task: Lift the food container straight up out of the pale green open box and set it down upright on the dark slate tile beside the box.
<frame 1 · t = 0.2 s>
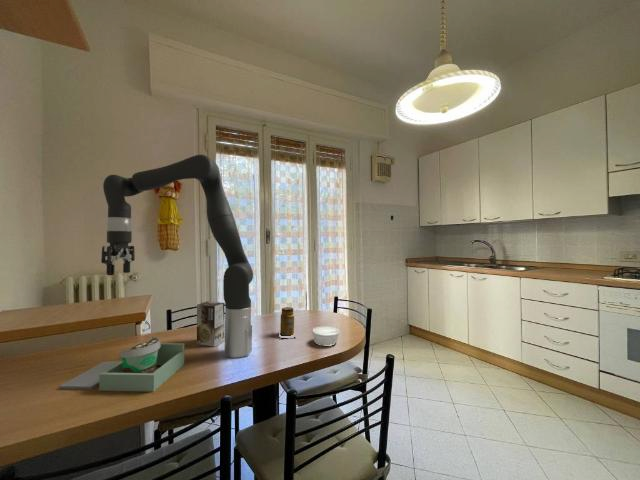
hand: (118, 273, 103), 29 cm above the table, tool pointing down, fingers open, 8 cm apart
pale green open box: (145, 376, 85), on the table
slate tile: (98, 375, 85), on the table
ramekin: (325, 343, 115), on the table
food container: (145, 376, 85), resting in pale green open box
condiment: (286, 336, 123), on the table
coffee box: (210, 343, 114), on the table
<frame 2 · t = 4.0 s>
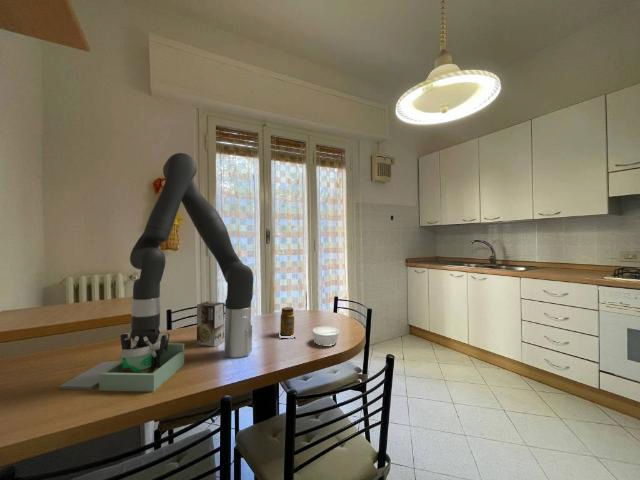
hand: (144, 367, 85), 3 cm above the table, tool pointing down, fingers closed on food container, 6 cm apart
food container: (146, 376, 85), resting in pale green open box, touching gripper
everything else where it was.
when the fingers open (5 cm above the table, at t = 11.4 s): food container moves 1 cm, resting on slate tile.
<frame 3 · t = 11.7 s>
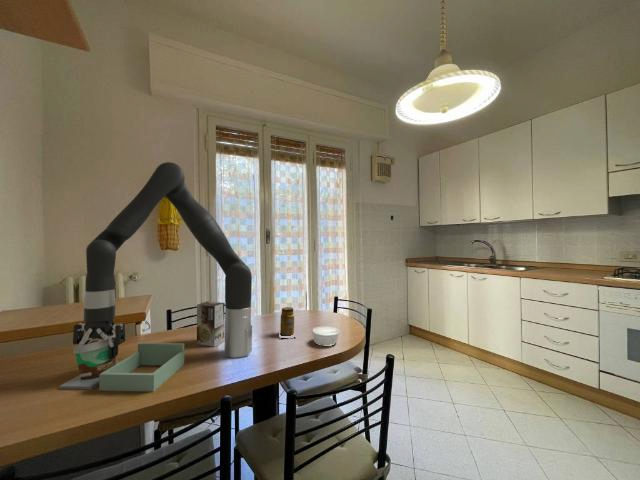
hand: (99, 357, 85), 5 cm above the table, tool pointing down, fingers open, 8 cm apart
food container: (104, 372, 85), point 1 cm above the table, touching gripper, slate tile
everything else where it was.
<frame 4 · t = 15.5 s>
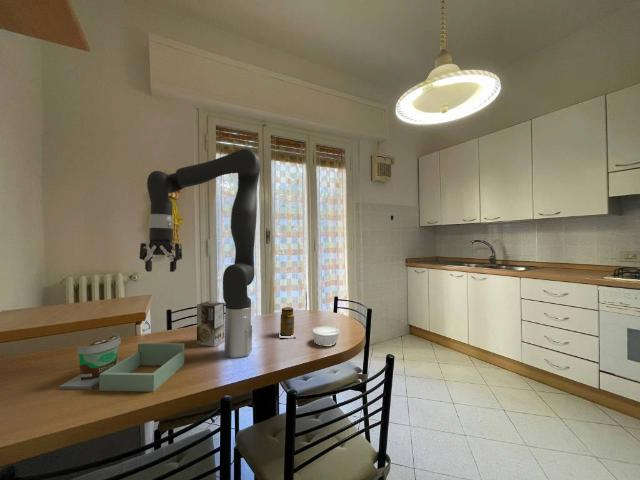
hand: (160, 271, 102), 30 cm above the table, tool pointing down, fingers open, 8 cm apart
food container: (104, 373, 85), point 1 cm above the table, touching slate tile
everything else where it was.
at the end: food container 2.0 cm off-centre on the slate tile, point 0.6 cm above the slate tile's base; food container tilted 0°; the gripper is holding nothing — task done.
